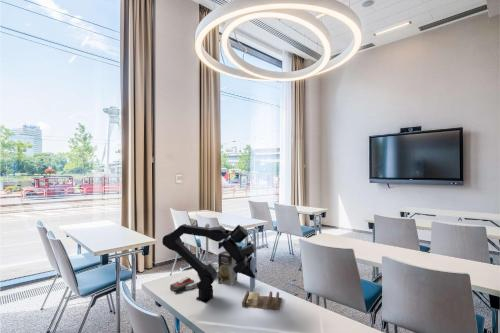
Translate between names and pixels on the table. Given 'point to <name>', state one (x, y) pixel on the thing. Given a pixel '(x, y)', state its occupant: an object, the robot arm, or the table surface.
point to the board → (252, 267)
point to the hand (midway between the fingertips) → (255, 274)
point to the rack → (265, 302)
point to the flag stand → (207, 253)
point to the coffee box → (226, 269)
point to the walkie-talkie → (183, 285)
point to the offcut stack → (252, 299)
